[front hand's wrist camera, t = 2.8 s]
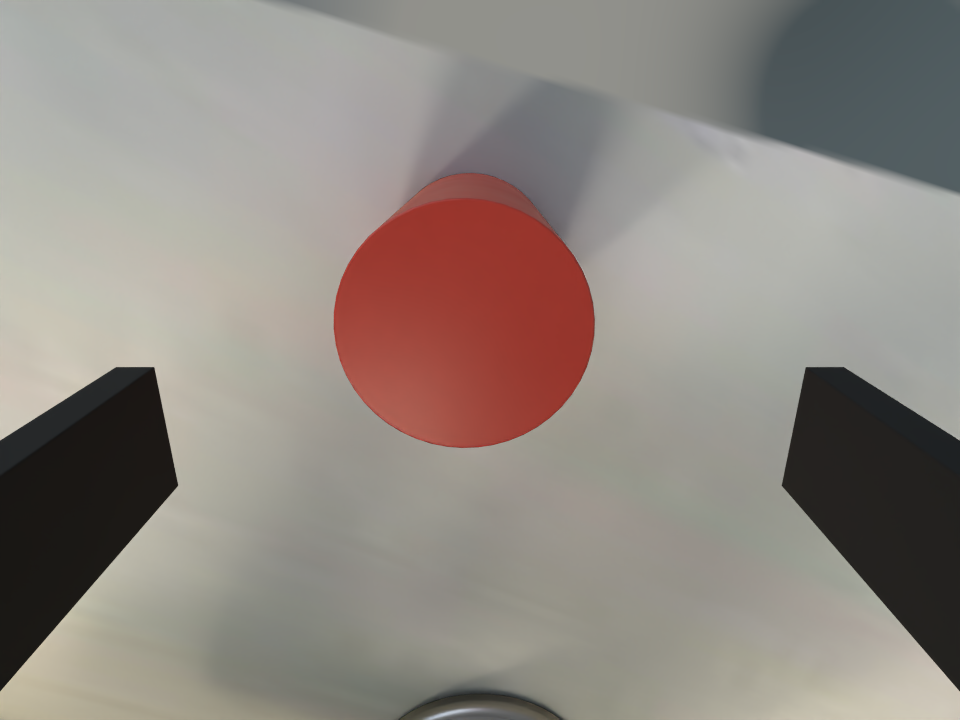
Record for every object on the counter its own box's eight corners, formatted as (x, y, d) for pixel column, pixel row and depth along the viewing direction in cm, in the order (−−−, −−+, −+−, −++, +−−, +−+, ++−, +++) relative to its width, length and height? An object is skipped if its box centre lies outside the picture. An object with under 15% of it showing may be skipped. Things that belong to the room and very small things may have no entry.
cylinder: (508, 353, 32) (525, 482, 20) (368, 294, 31) (298, 393, 19) (576, 214, 30) (643, 267, 18) (427, 144, 29) (389, 149, 16)
